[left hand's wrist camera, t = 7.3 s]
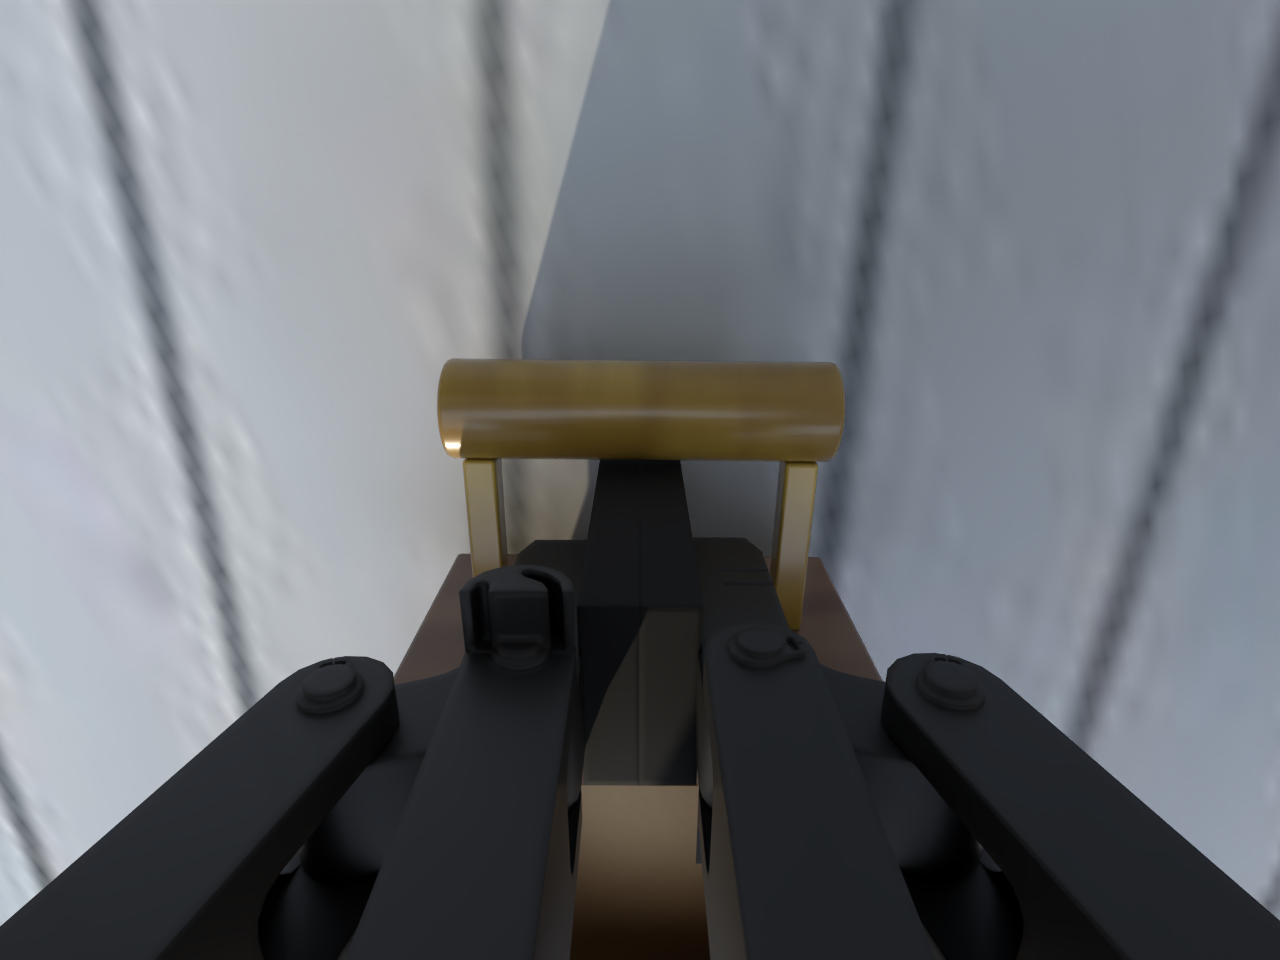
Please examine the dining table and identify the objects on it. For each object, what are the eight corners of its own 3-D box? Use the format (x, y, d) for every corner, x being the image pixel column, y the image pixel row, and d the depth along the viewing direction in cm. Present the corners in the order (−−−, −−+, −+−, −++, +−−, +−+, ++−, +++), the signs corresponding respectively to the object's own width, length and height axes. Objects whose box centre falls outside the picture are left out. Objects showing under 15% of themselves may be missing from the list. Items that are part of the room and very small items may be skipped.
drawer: (436, 330, 15) (309, 407, 9) (846, 335, 15) (973, 413, 9) (504, 1036, 23) (460, 1300, 18) (764, 1038, 23) (803, 1303, 18)
